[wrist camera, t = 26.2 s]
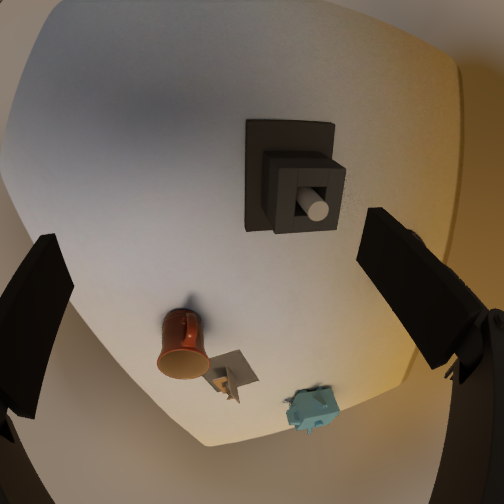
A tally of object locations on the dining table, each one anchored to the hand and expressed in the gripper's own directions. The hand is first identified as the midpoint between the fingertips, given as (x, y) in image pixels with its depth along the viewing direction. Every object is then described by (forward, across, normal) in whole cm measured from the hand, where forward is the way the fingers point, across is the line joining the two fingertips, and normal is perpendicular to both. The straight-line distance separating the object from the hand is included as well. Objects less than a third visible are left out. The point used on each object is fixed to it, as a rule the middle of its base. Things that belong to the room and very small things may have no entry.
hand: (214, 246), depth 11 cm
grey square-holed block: (+23, +12, -7) cm, 27 cm away
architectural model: (+28, +2, -53) cm, 60 cm away
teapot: (+28, +25, -73) cm, 82 cm away
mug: (+28, -5, -32) cm, 43 cm away
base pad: (+28, +12, -7) cm, 31 cm away
